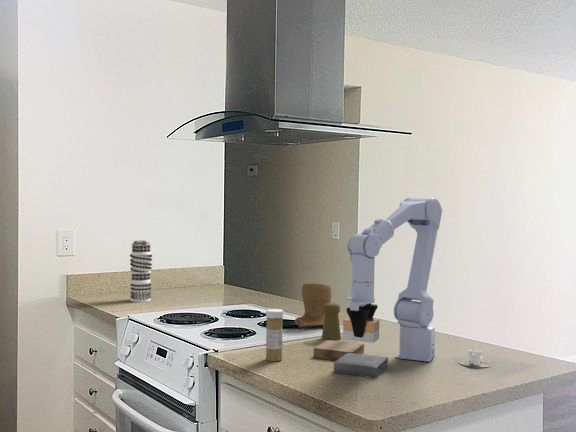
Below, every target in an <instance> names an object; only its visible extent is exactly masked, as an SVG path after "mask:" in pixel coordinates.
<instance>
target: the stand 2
mask: <svg viewBox="0 0 576 432" xmlns="http://www.w3.org/2000/svg"><path fill="white" fill-rule="evenodd" d="M388 367H389V357H387V356H379V355H377V356H376V355H371V354H370V355H369V354H354V353H347V354H345V355H344V356H342V357H341V358H339V359H338V360H335V361H334V362H333V373H337V374H343V373H344V374H343V375H351V374H352V376H358V375H361V377H366V376H368V377H369V378H374V377H377V378H378V377H379V376H381V374H382V373H383V372H384V371H386V370H387V368H388ZM368 377H367V378H368Z"/></svg>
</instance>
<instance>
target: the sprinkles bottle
mask: <svg viewBox="0 0 576 432" xmlns="http://www.w3.org/2000/svg"><path fill="white" fill-rule="evenodd" d="M265 317H266V333H265V335H266V336H265V347H266V348H265V349H266V351H265V352H266V353H265V355H266V356H265V360H267V361H269V362H281V361H282V360H283V337H284V336H283V335H284V334H283V333H284V331H283V330H284V329H283V318H284V310H283V309H279V308H269V309H266V312H265Z"/></svg>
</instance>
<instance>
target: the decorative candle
mask: <svg viewBox="0 0 576 432" xmlns="http://www.w3.org/2000/svg"><path fill="white" fill-rule="evenodd" d="M151 253H152V252H151V243H150V242H149V241H148V240H134V241H133V243H132V244H131V253H130V254H129V257H130V260H129V262H130V263H129V265H130V266H131V267H130V269H129V270H130V273H131V280H130V286H131V287H130V290H131V291H130V296H129V297H130V301H131V302H134V303H145V302H151V301H152V299H151V298H152V291H151V289H152V287H151V286H152V283H151V274H152V271H151V270H152V269H153V267H152V265H153V264H152V263H151V261H153V259H152V257H153V254H151Z"/></svg>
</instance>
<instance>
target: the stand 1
mask: <svg viewBox="0 0 576 432" xmlns="http://www.w3.org/2000/svg"><path fill="white" fill-rule="evenodd" d="M347 353H354V354H362V355H364V353H365V344H364V343H360V342H359V343H357V342H351V341H350V342H348V341H341V340H340V341H339V340H324V341H323V342H322V343H320V344H318V345H316V346H315V347H313V358H319V359H327V360H335V361H337V360H338V359H339V358H341V357H342V356H344V355H345V354H347Z"/></svg>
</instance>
